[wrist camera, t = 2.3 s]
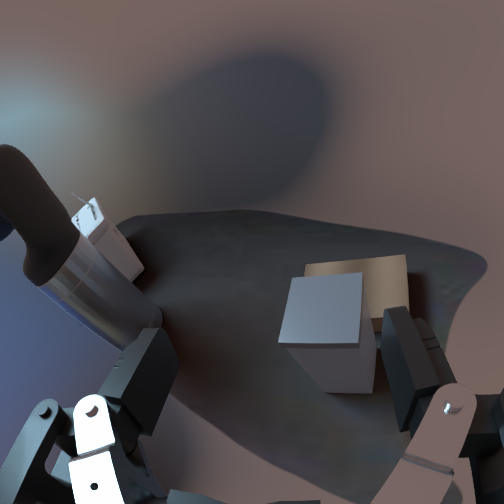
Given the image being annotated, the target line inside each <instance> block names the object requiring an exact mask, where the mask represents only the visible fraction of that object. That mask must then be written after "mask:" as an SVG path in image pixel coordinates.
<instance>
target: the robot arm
mask: <svg viewBox="0 0 504 504" xmlns="http://www.w3.org/2000/svg"><path fill="white" fill-rule="evenodd" d="M14 229H16V230H17V232H18V233H19V234H20V236H21V237H22V238H23V240H24V242H25V243H26V248H27V253H26V257H25V260H24V263H23V272H24V274H25V275H26V277H27V278H28V279H29V280H30V281H31V282H32V283H34V284H35V285H36V286H37V287H38V288H39V289H40V290H41V291H42V292H43V293H45V294H46V295H47V296H48V297H49V298H51V299H52V300H53V301H54V302H55V303H57V304H58V305H59V306H60V307H62V308H63V309H64V310H65V311H66V312H68V313H69V314H70V315H72V316H73V317H74V318H75V319H77V320H78V321H79V322H81V323H82V324H83V325H85V326H86V327H88V328H89V329H90V330H91V331H93V332H94V333H95V334H97V335H98V336H100V337H101V338H102V339H104V340H105V341H107V342H108V343H109V344H111V345H112V346H114V347H115V348H117V349H118V350H120V351H121V352H123V353H122V354H121V356H120V357H119V360H118V361H117V362H116V364H115V365H114V366H115V367H114V368H113V369H112V370H111V372H110V374H109V375H108V377H107V378H106V380H105V382H104V383H103V385H102V387H101V388H100V390H99V392H98V394H97V395H90V396H87V397H85V398H83V399H82V400H81V401H80V402H79V403H78V404H77V405H76V407H73V408H61V407H60V406H59V405H58V403H57V402H56V401H55V400H53V399H46V400H44V401H42V402H40V403H39V404H38V405H37V406H36V407H35V409H34V410H33V412H32V414H31V415H30V417H29V419H28V420H27V422H26V424H25V425H24V427H23V429H22V431H21V432H20V434H19V436H18V438H17V440H16V441H15V443H14V445H13V447H12V449H11V451H10V452H9V454H8V456H7V458H6V460H5V462H4V464H3V466H2V468H1V470H0V504H225V503H223V502H220V501H217V500H215V499H212V498H209V497H207V496H204V495H199V494H193V493H187V492H182V491H177V490H172V489H171V490H170V492H169V495H168V496H166V494H165V492H164V491H163V490H162V488H161V487H160V486H159V485H158V483H157V481H156V480H155V477H154V475H153V472H152V470H151V467H150V465H149V462H148V459H147V457H146V454H145V451H144V449H143V445H142V443H141V441H140V440H139V439H138V437H139V435H140V434H141V435H146V436H152V433H153V431H154V428H155V426H156V423H157V421H158V418H159V416H160V413H161V411H162V408H163V406H164V403H165V401H166V399H167V396H168V394H169V391H170V389H171V387H172V384H173V382H174V379H175V377H176V375H177V372H178V369H179V360H178V356H177V354H176V352H175V350H174V347H173V345H172V343H171V341H170V339H169V337H168V335H167V332H166V331H165V329H163V328H161V327H162V321H163V316H162V312H161V310H160V308H159V307H158V306H156V305H155V304H154V303H153V302H152V301H151V300H150V299H149V298H148V297H146V296H145V295H144V294H143V293H142V292H141V291H140V290H139V289H138V288H137V287H136V286H135V285H134V284H132V283H131V282H130V281H129V280H128V279H127V278H126V277H125V276H124V275H123V274H122V273H121V272H120V271H119V270H118V269H117V268H116V267H115V266H114V265H113V264H112V263H111V262H110V261H109V260H108V259H107V258H106V257H105V256H104V255H103V254H102V253H101V252H100V251H99V250H98V249H97V248H96V247H95V246H94V245H93V244H92V243H91V242H90V241H89V240H88V239H87V238H86V237H85V236H84V235H83V234H82V233H81V232H80V231H79V230H78V228H77V227H76V226H75V225H74V224H73V222H72V220H71V218H70V216H69V214H68V213H67V210H66V209H65V207H64V206H63V204H62V203H61V202H60V201H59V199H58V198H57V197H56V195H55V194H54V193H53V191H51V189H50V187H49V186H48V185H47V183H46V182H45V181H44V179H43V178H42V176H41V175H40V174H39V172H38V171H37V169H36V168H35V166H34V165H33V164H32V163H31V161H30V160H29V159H28V158H27V157H26V156H25V155H24V154H23V153H22V152H21V151H20V150H18V149H16V148H15V147H13V146H10V145H6V144H3V145H0V241H2V240H3V239H5V238H6V237H7V236H8V235H9V234H10V233H11V232H12V231H13V230H14ZM381 355H382V359H383V363H384V367H385V371H386V374H387V378H388V382H389V386H390V390H391V394H392V399H393V403H394V407H395V412H396V416H397V421H398V426H399V431H400V432H404V431H409V430H410V435H411V442H410V444H409V446H408V448H407V449H406V451H405V453H404V454H403V456H402V457H401V459H400V460H399V462H398V464H397V465H396V467H395V468H394V470H393V472H392V473H391V475H390V476H389V478H388V479H387V481H386V482H385V484H384V485H383V487H382V488H381V489H380V491H379V492H378V494H377V495H376V496H375V498H374V499H373V500H372V502H371V503H370V504H440V503H441V501H442V499H443V497H444V496H445V494H446V492H447V490H448V488H449V486H450V484H451V481H452V479H453V476H454V472H453V468H454V465H455V463H456V461H457V459H458V458H465V457H469V460H470V466H471V470H472V477H473V483H474V489H475V498H476V504H504V389H503V390H502V392H501V394H493V395H476V394H474V393H473V391H472V390H471V389H469V388H468V387H467V386H465V385H462V384H458V383H457V381H456V379H455V377H454V375H453V372H452V370H451V368H450V366H449V363H448V361H447V359H446V357H445V355H444V353H443V351H442V348H440V344H439V342H438V340H437V339H436V336H435V334H434V332H433V330H432V328H431V326H430V325H429V324H427V323H426V322H425V321H424V320H423V319H421V318H415V319H412V317H411V315H410V313H409V311H408V309H407V307H406V306H399V307H392V308H386V309H384V313H383V324H382V334H381ZM54 443H55V444H56V445H57V446H58V447H59V448H60V449H62V451H61V454H60V456H59V458H58V460H57V462H56V464H55V467H54V469H53V471H52V473H51V475H49V474H48V473H47V472H46V470H45V466H44V465H45V461H46V459H47V457H48V455H49V453H50V451H51V449H52V447H53V444H54ZM269 504H320V500H314V501H279V502H274V503H269Z"/></svg>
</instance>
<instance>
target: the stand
mask: <svg viewBox="0 0 504 504" xmlns="http://www.w3.org/2000/svg"><path fill="white" fill-rule="evenodd" d="M360 272H362V273H363V277H364V289H365V293H366V297H367V302H368V306H369V311H370V316H371V320H372V325H373V330H374V332H382V324H383V313H384V309H386V308H392V307H399V306H406V307H407V309H408V311H409V296H408V280H407V268H406V258H405V255H397V256H388V257H378V258H368V259H358V260H348V261H337V262H327V263H316V264H306V267H305V273H304V277H311V276H324V275H336V274H348V273H360Z"/></svg>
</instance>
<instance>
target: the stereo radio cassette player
mask: <svg viewBox="0 0 504 504" xmlns="http://www.w3.org/2000/svg"><path fill="white" fill-rule="evenodd" d="M72 195H73V196H75V197H77V198H78V199H79V200H81V201H82V202H84V203H86V205H85V206H84V207H83V208H82V209H81V210H80V211H79V212H78V213H77V214H76V215H75V216H74V217H73V218H72V222H73V224H74V225H75V226H76V227H77V228H78V230H79V231H80V232H81V233H82V234H83V235H84V236H85V237H86V238H87V239H88V240H89V241H90V242H91V243H92V244H93V245H94V246H95V247H96V248H97V249H98V250H99V251H100V252H101V253H102V254H103V255H104V256H105V257H106V258H107V259H108V260H109V261H110V262H111V263H112V264H113V265H114V266H115V267H116V268H117V269H118V270H119V271H120V272H121V273H122V274H123V275H124V276H125V277H126V278H127V279H128V280H129V281H130V282H131V283H132V282H133V281H134V280H135V278H136V277H137V276H138V275H139V274H140V273H141V272H143V271H144V267H143V265H142V263H141V262H140V260H139V259H138V257H137V256H136V254H135V253H134V251H133V249H132V248H131V246H130V245H129V243H128V242H127V240H126V238H125V237H124V236H123V235H122V233H121V232H120V231H119V230H118V229H117V228H116V227H115V226H114V224H113V223H112V222H111V221H110V220H109V219H108V218H107V217H106V215H105V214H104V212H103V211H102V208H101V206H100V204H99V202H98V200H97V199H96V198H93V199H91V200H90V201H89V202H87V201H85V200H84V199H82V198H80V197H78V196H76V195H75V194H74V193H72Z"/></svg>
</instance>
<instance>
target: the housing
mask: <svg viewBox="0 0 504 504" xmlns="http://www.w3.org/2000/svg"><path fill="white" fill-rule="evenodd" d="M278 343H279V344H280V345H281V347H282V348H286V349H287V350H288V351H289V352H290V354H291V355H292V356H293V357H294V358H295V359H296V361H297V362H298V363H299V364H300V365H301V366H302V367H303V369H304V370H305V371H306V372H307V373H308V374H309V376H310V377H311V378H312V379H313V380H314V381H315V382H316V383H317V385H318V386H319V387H320V388H321V389H322V390H323V391H324V392H328V393H373V385H374V375H375V365H376V352H377V346H376V341H375V335H374V330H373V325H372V320H371V316H370V311H369V306H368V302H367V297H366V293H365V289H364V277H363V273H362V272H360V273H348V274H336V275H324V276H311V277H297V278H292V282H291V287H290V291H289V296H288V300H287V305H286V309H285V314H284V318H283V323H282V327H281V331H280V336H279V340H278Z"/></svg>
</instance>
